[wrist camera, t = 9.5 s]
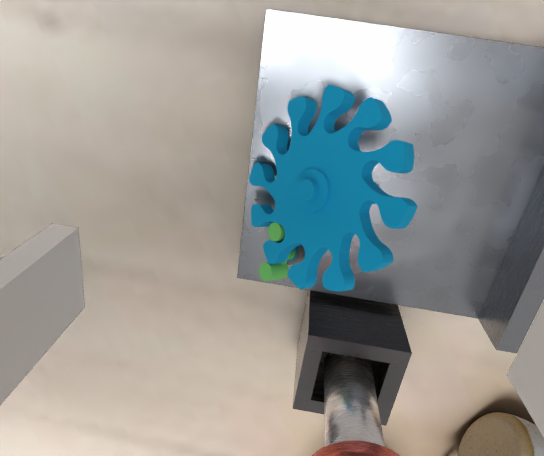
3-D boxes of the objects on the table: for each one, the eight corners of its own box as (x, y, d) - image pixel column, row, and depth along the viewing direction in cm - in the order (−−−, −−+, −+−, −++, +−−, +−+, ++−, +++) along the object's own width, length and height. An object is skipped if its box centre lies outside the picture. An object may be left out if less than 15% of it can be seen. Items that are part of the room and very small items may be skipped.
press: (234, 334, 32) (177, 527, 19) (270, 11, 22) (205, -32, 10) (467, 375, 31) (569, 605, 18) (608, 58, 21) (1022, 79, 9)
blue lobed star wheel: (306, 41, 19) (455, 178, 14) (375, 72, 23) (510, 188, 18) (211, 209, 25) (293, 349, 20) (280, 211, 29) (363, 327, 24)
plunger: (302, 386, 27) (294, 534, 19) (315, 327, 25) (313, 464, 17) (376, 399, 27) (402, 555, 19) (396, 341, 25) (433, 487, 17)
